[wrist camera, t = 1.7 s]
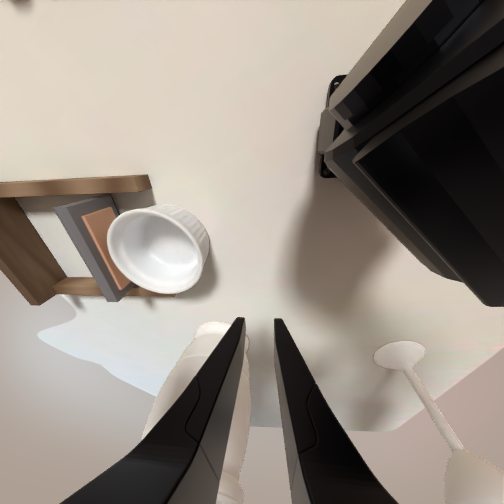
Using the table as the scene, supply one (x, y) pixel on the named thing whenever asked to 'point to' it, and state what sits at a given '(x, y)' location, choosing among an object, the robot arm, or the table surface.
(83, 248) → the block
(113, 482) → the robot arm
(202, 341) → the jar
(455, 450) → the champagne flute
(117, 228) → the ramekin
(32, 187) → the wooden u-shaped frame
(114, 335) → the table surface
